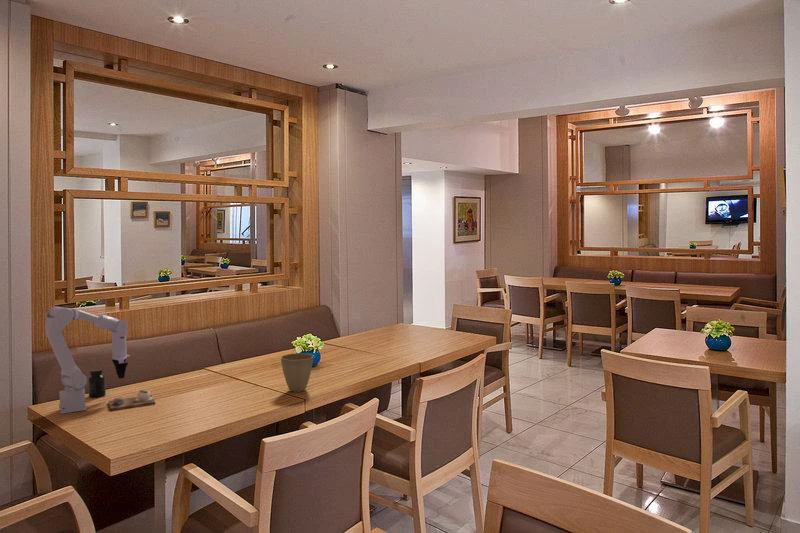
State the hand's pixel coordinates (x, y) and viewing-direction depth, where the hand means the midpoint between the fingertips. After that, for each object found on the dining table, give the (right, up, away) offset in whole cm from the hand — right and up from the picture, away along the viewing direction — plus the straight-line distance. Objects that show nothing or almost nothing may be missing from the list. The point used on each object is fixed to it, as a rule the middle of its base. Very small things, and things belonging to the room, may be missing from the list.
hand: (120, 376), depth 249 cm
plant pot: (+78, -9, +10) cm, 79 cm away
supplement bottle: (-13, -10, +4) cm, 17 cm away
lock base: (+9, -10, -8) cm, 16 cm away
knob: (+13, -9, -6) cm, 17 cm away
